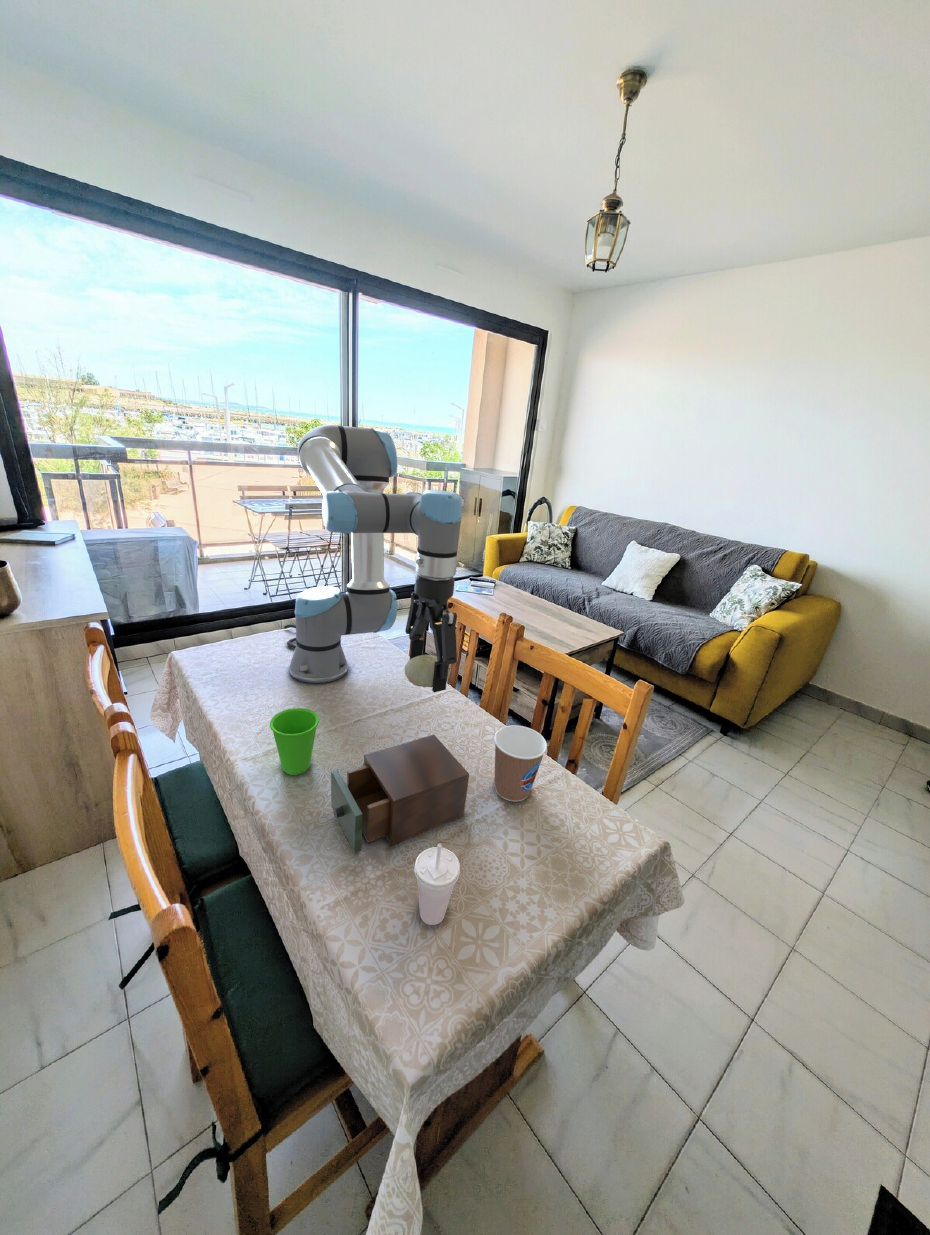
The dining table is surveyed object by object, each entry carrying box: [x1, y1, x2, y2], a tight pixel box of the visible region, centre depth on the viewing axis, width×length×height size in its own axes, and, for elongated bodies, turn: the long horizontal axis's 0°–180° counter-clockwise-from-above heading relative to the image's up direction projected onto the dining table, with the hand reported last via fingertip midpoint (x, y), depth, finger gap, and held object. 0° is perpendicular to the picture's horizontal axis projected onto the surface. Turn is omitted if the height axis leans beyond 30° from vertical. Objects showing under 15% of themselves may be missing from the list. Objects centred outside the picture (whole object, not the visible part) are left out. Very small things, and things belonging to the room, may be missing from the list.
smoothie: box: [414, 843, 461, 926], centre depth 67 cm, size 6×6×14 cm
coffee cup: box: [493, 724, 548, 803], centre depth 93 cm, size 10×10×12 cm
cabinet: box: [362, 734, 470, 847], centre depth 86 cm, size 15×13×10 cm
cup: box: [269, 707, 320, 776], centre depth 93 cm, size 9×9×11 cm
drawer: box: [330, 765, 391, 854], centre depth 82 cm, size 15×12×8 cm
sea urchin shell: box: [404, 654, 451, 688], centre depth 97 cm, size 9×8×8 cm
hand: (426, 678), depth 97 cm, fingers closed on sea urchin shell, 9 cm apart
